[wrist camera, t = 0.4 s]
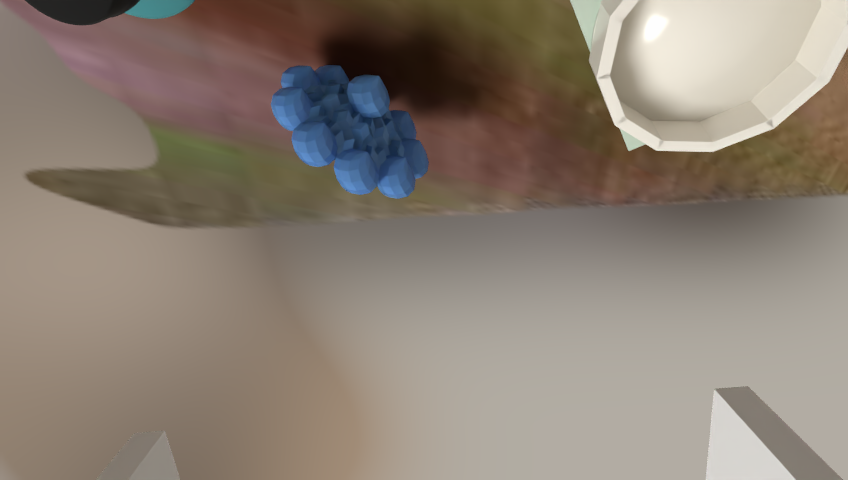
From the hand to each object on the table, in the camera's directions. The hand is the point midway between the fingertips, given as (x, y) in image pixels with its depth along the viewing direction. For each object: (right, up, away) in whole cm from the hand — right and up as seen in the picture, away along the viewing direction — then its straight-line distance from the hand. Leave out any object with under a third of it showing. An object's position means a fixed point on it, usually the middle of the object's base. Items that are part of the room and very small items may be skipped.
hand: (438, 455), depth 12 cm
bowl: (+19, +19, +22) cm, 35 cm away
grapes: (-4, +18, +27) cm, 32 cm away
